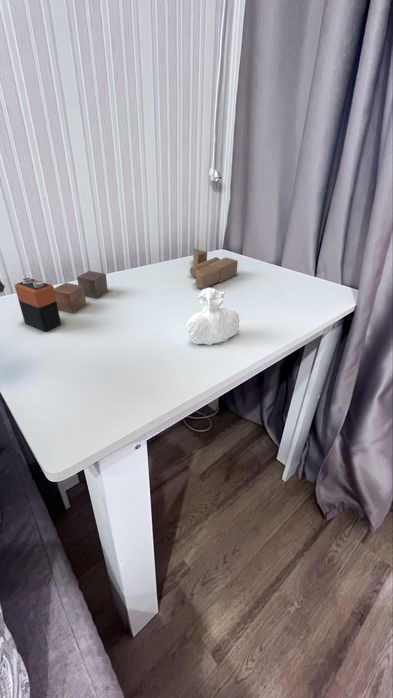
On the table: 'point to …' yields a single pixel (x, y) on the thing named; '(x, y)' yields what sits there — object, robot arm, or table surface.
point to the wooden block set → (211, 269)
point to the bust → (212, 320)
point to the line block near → (70, 297)
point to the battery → (38, 304)
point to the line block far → (93, 284)
